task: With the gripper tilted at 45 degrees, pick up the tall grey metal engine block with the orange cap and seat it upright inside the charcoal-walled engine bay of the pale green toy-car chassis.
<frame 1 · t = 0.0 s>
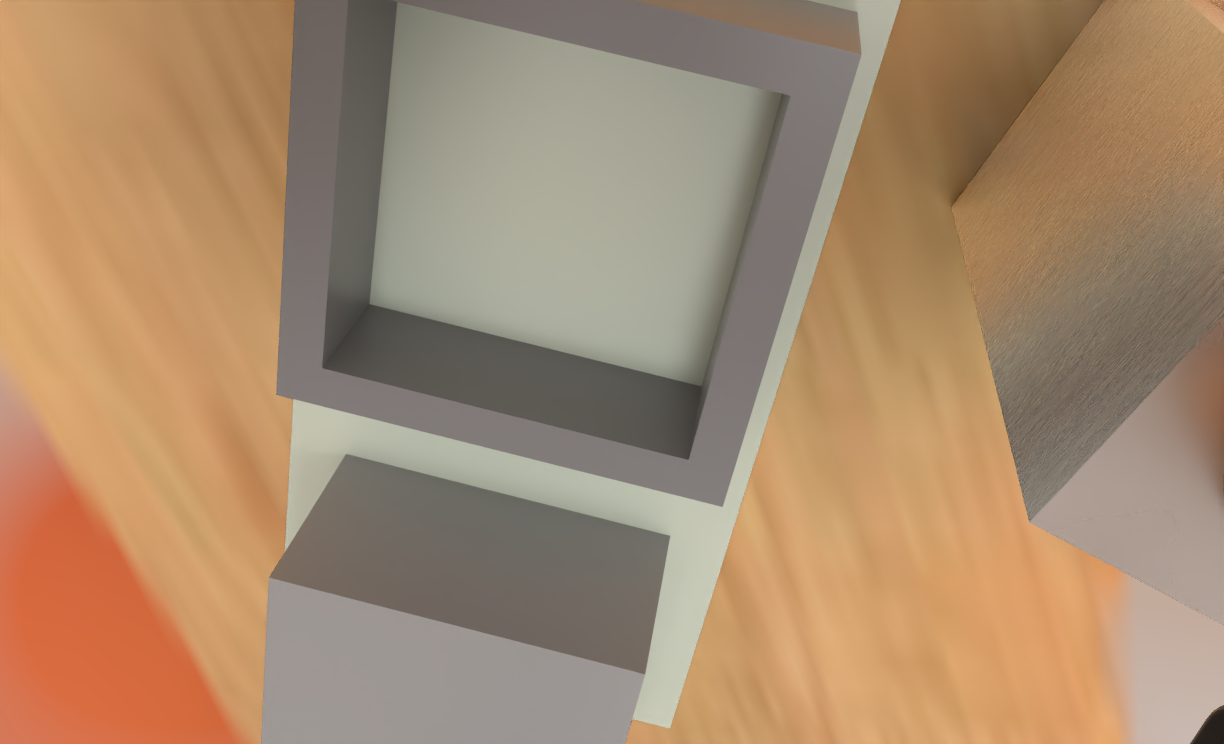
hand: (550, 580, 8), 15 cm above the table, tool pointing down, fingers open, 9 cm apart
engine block: (1158, 159, 20), on the table
chassis: (544, 338, 24), on the table
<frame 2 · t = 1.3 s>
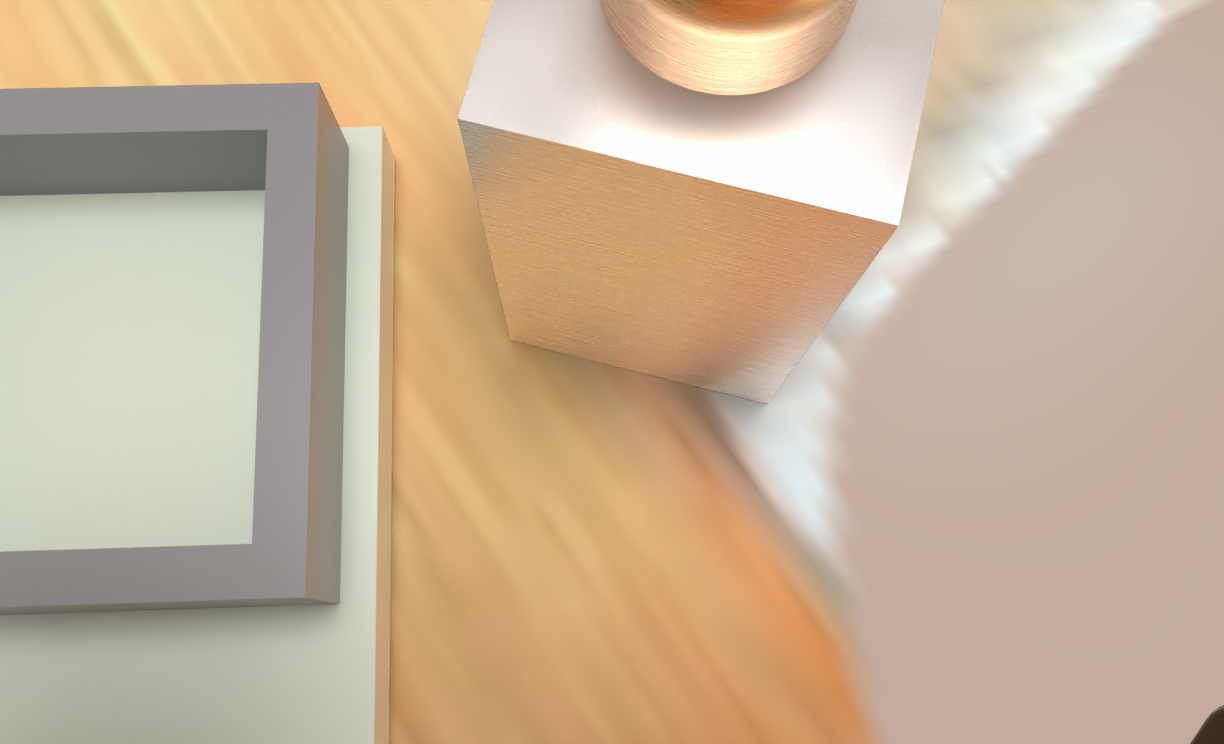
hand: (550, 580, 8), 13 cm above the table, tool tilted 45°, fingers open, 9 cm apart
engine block: (668, 250, 23), on the table
chassis: (125, 609, 21), on the table
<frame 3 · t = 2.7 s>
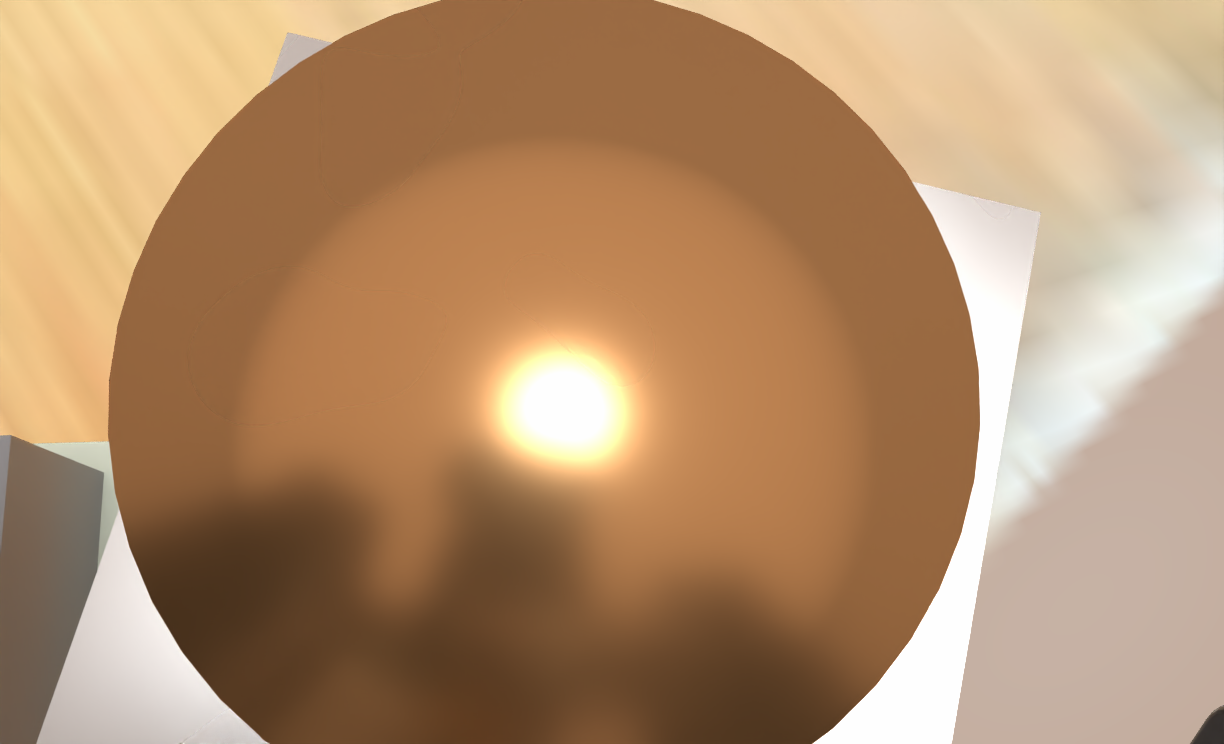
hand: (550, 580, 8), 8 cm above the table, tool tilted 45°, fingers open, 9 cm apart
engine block: (573, 591, 16), on the table
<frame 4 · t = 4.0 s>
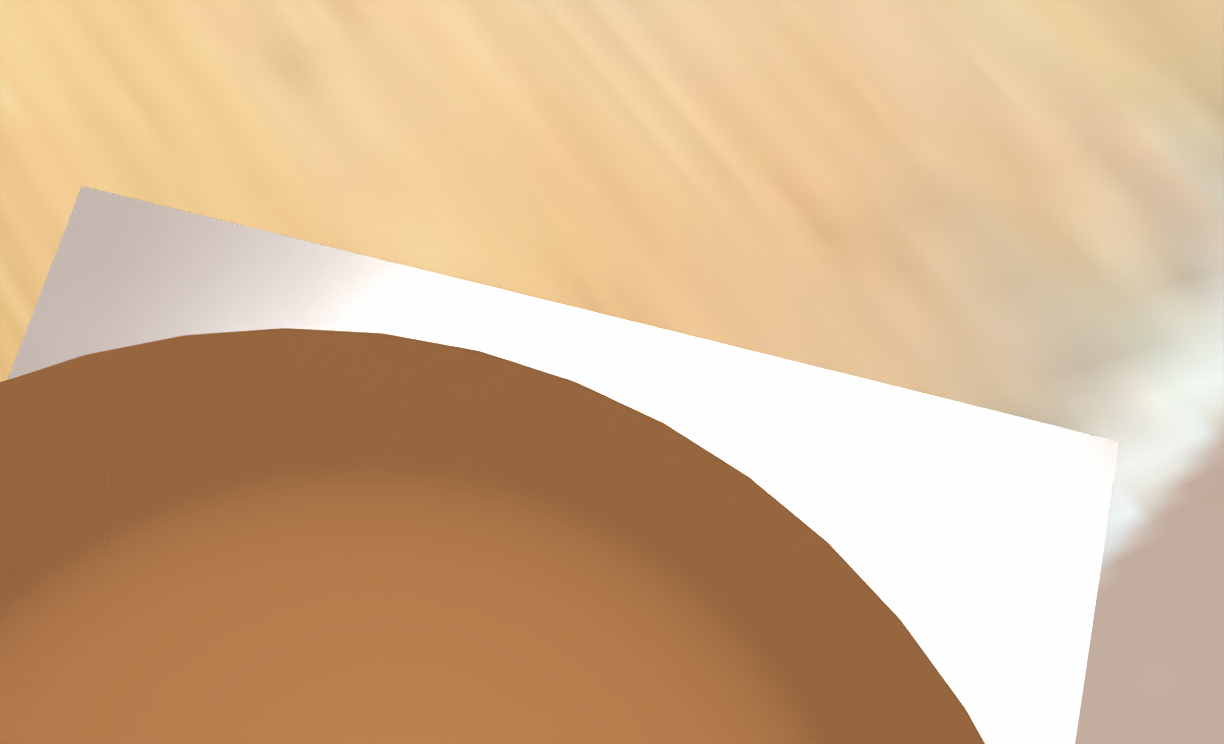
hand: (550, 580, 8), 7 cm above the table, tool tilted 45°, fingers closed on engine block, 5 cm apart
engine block: (535, 728, 14), on the table, touching gripper
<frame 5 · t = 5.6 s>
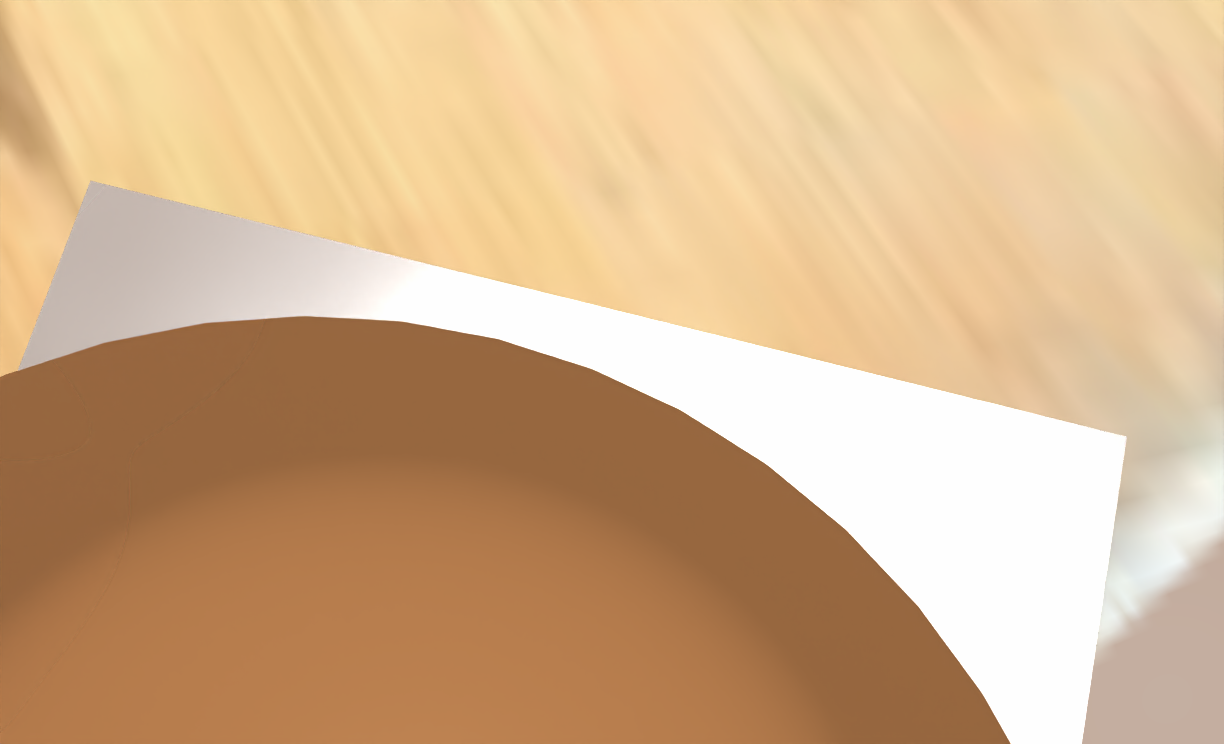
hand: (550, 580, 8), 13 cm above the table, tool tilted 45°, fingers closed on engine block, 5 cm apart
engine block: (538, 726, 14), point 7 cm above the table, touching gripper
when the fingers open (9 cm above the table, at t = 7.4 s): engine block drops 1 cm, resting on chassis.
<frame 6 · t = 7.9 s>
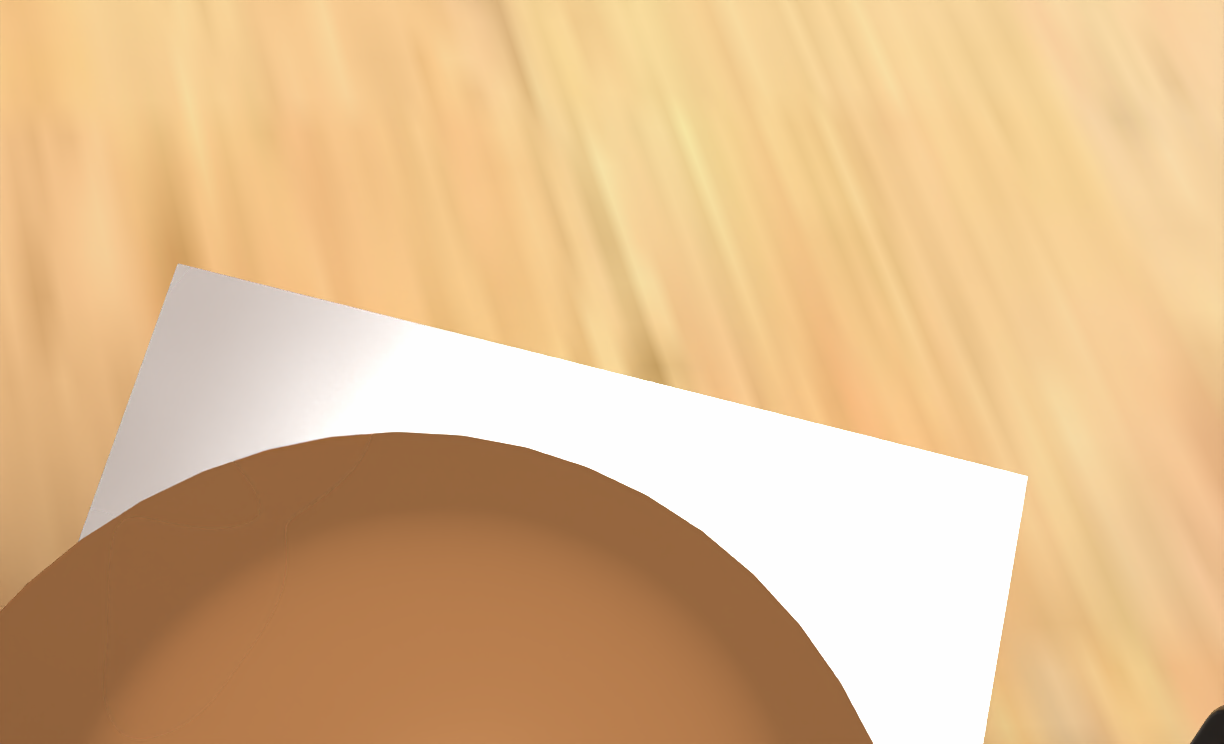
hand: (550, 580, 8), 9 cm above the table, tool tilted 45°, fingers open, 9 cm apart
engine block: (542, 718, 15), point 1 cm above the table, touching chassis
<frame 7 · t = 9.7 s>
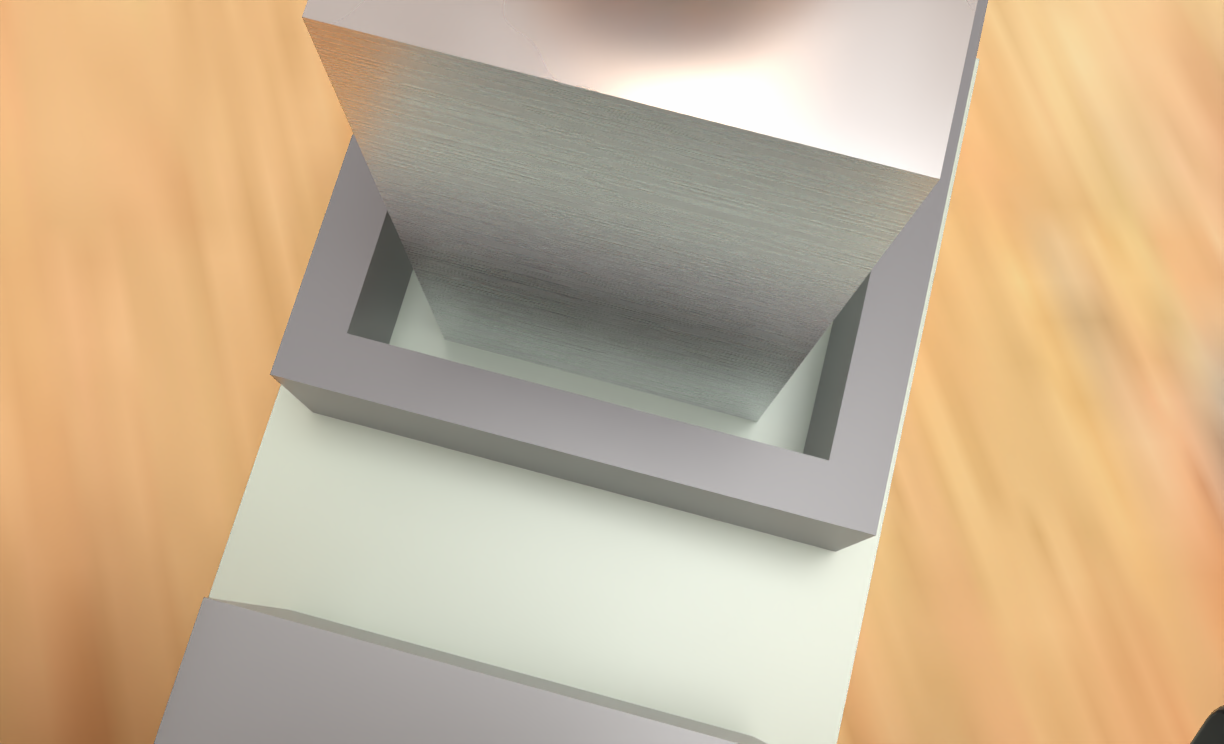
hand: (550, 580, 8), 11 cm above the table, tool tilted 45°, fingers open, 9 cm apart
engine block: (640, 233, 19), point 1 cm above the table, touching chassis
chassis: (574, 488, 19), on the table
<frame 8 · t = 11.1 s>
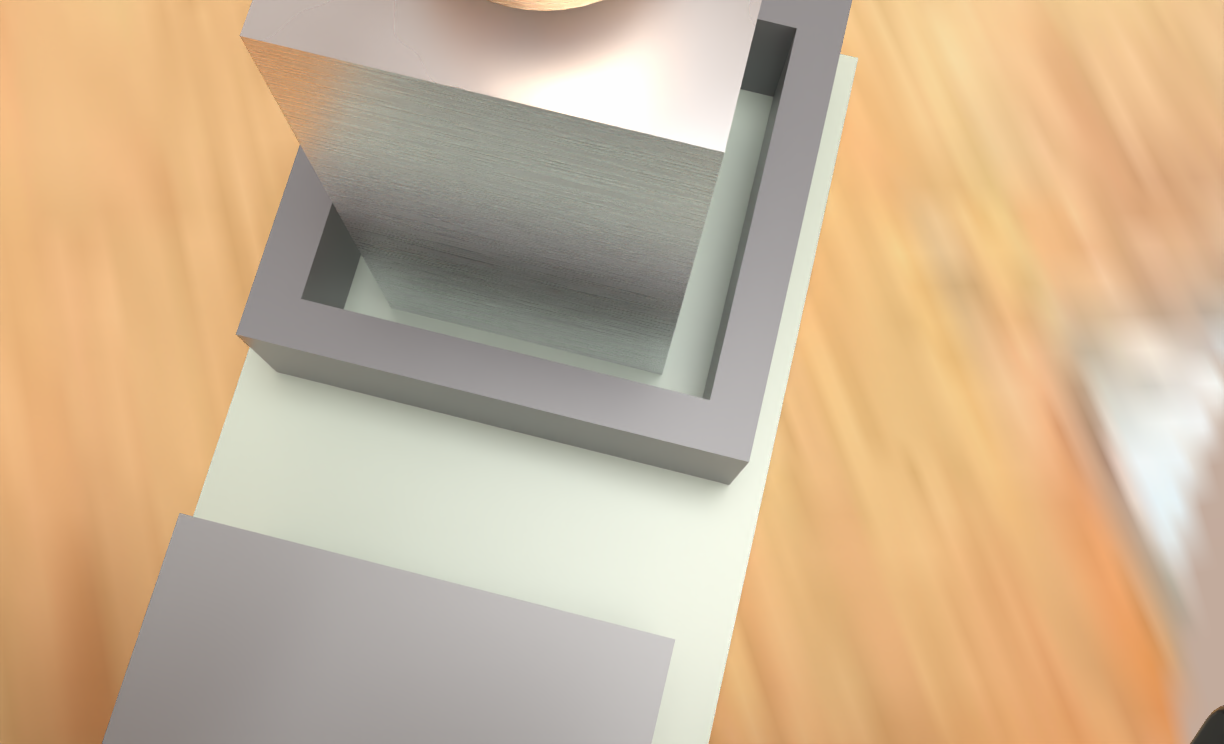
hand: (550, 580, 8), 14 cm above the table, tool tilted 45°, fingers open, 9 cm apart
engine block: (561, 213, 21), point 1 cm above the table, touching chassis
chassis: (508, 437, 22), on the table
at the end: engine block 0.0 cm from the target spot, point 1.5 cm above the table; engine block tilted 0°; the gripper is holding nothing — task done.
